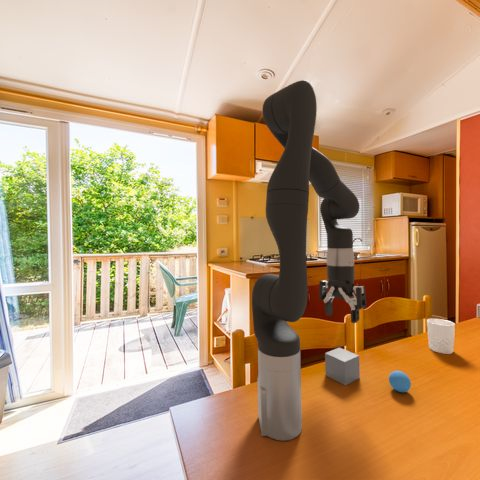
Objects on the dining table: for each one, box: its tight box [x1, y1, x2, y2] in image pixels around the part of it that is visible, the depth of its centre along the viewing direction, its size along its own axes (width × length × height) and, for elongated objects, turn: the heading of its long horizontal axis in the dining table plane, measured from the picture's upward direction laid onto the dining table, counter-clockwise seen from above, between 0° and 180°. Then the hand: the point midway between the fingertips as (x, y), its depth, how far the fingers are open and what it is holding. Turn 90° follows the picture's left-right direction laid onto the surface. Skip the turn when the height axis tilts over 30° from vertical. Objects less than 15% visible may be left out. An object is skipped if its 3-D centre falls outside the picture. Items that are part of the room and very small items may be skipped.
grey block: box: [324, 347, 361, 387], centre depth 76 cm, size 7×7×7 cm
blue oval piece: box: [388, 370, 412, 393], centre depth 69 cm, size 5×5×5 cm
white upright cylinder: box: [426, 318, 456, 355], centre depth 92 cm, size 8×8×10 cm
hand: (341, 318), depth 76 cm, fingers open, 8 cm apart
